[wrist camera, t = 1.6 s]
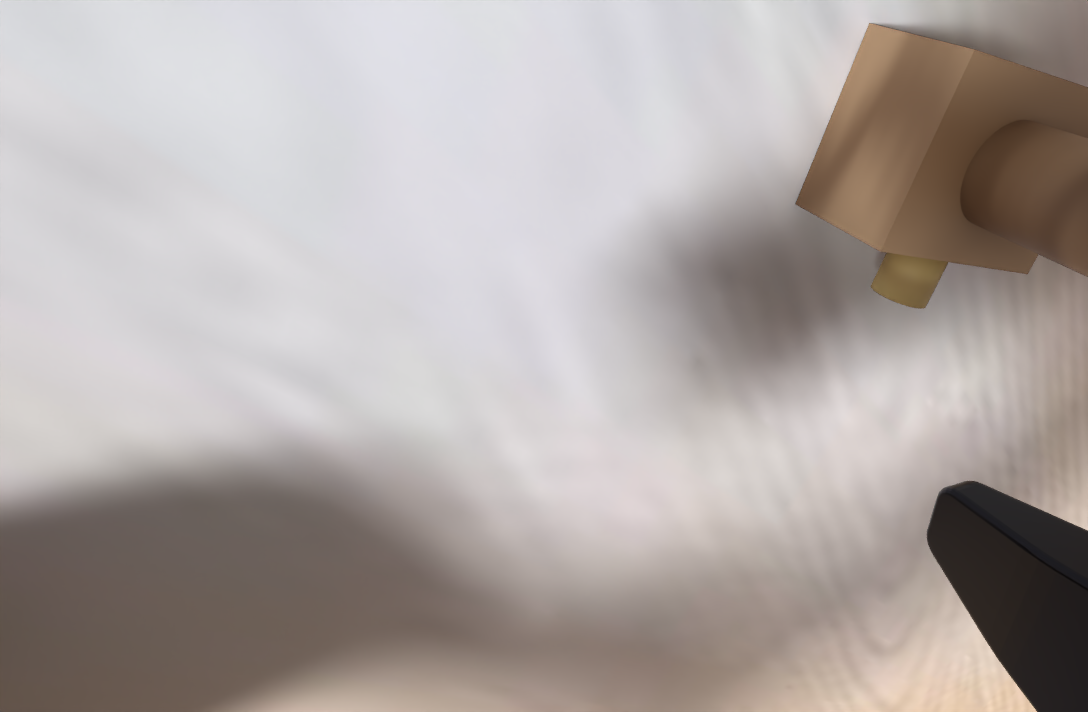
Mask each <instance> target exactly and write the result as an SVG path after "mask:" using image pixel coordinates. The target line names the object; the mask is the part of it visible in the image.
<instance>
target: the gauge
mask: <svg viewBox="0 0 1088 712" xmlns="http://www.w3.org/2000/svg"><path fill="white" fill-rule="evenodd" d="M796 205H798V206H800V207H801V208H803V209H805V210H807V211H809V212H810V213H812V214H814V215H816V216H818V217H819V218H821V219H823V220H825V221H826V222H828V223H830V224H832V225H834V226H835V227H837V228H839V229H841V230H843V231H844V232H846V233H848V234H850V235H852V236H853V237H855V238H857V239H859V240H860V241H862V242H864V243H866V244H868V245H869V246H871V247H873V248H875V249H877V250H878V251H880V252H886V255H885V257H884V259H883V261H882V264H881V266H880V268H879V270H878V272H877V274H876V276H875V278H874V281H873V283H872V285H871V288H872V289H873V290H874V291H875V292H877V293H878V294H880V295H882V296H883V297H885V298H887V299H890V300H892V301H894V302H897V303H900V304H902V305H906V306H909V307H913V308H920V309H921V308H925V307H926V305H927V303H928V301H929V299H930V297H931V295H932V294H933V292H934V290H935V288H936V286H937V284H938V282H939V280H940V278H941V276H942V274H943V272H944V270H945V268H946V266H947V264H948V262H952V263H958V264H965V265H971V266H978V267H984V268H991V269H998V270H1004V271H1011V272H1017V273H1024V274H1028V272H1029V271H1030V269H1031V267H1032V265H1033V263H1034V262H1035V260H1036V258H1037V256H1038V254H1039V255H1042V256H1044V257H1046V258H1048V259H1050V260H1052V261H1055V262H1057V263H1059V264H1061V265H1063V266H1065V267H1067V268H1070V269H1072V270H1074V271H1076V272H1078V273H1080V274H1083V275H1085V276H1087V277H1088V87H1085V86H1082V85H1079V84H1076V83H1073V82H1070V81H1067V80H1064V79H1061V78H1058V77H1055V76H1052V75H1049V74H1046V73H1043V72H1040V71H1037V70H1034V69H1031V68H1028V67H1025V66H1022V65H1019V64H1016V63H1013V62H1010V61H1007V60H1004V59H1001V58H998V57H995V56H992V55H989V54H987V53H984V52H981V51H978V50H975V49H971V48H967V47H963V46H959V45H955V44H951V43H947V42H943V41H939V40H935V39H931V38H927V37H923V36H919V35H915V34H911V33H907V32H903V31H899V30H895V29H891V28H887V27H883V26H879V25H875V24H871V23H869V26H868V28H867V31H866V33H865V36H864V38H863V40H862V43H861V45H860V48H859V50H858V53H857V55H856V58H855V60H854V62H853V65H852V67H851V70H850V72H849V75H848V77H847V79H846V82H845V84H844V87H843V89H842V92H841V94H840V97H839V99H838V101H837V104H836V106H835V109H834V111H833V114H832V116H831V119H830V121H829V123H828V126H827V128H826V131H825V133H824V136H823V138H822V140H821V143H820V145H819V148H818V150H817V153H816V155H815V158H814V160H813V162H812V165H811V167H810V170H809V172H808V175H807V177H806V180H805V182H804V184H803V187H802V189H801V192H800V194H799V197H798V199H797V201H796Z"/></svg>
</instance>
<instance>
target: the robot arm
mask: <svg viewBox="0 0 1088 712" xmlns="http://www.w3.org/2000/svg"><path fill="white" fill-rule="evenodd" d="M927 541H928V545H929V547H930V550H931V552H932V554H933V555H934V557H935V559H936V560H937V562H938V564H939V565H940V567H941V568H942V570H943V572H944V573H945V575H946V577H947V578H948V580H949V581H950V583H951V585H952V586H953V588H954V590H955V591H956V593H957V594H958V596H959V598H960V599H961V601H962V603H963V604H964V606H965V607H966V609H967V611H968V612H969V614H970V616H971V617H972V619H973V620H974V622H975V624H976V625H977V627H978V629H979V630H980V632H981V633H982V635H983V637H984V638H985V640H986V641H987V643H988V645H989V646H990V648H991V649H992V651H993V652H994V654H995V655H996V657H997V658H998V660H999V661H1000V662H1001V664H1002V665H1003V667H1004V668H1005V669H1006V671H1007V672H1008V674H1009V675H1010V676H1011V678H1012V679H1013V680H1014V682H1015V683H1016V684H1017V686H1018V687H1019V688H1020V690H1021V691H1022V692H1023V693H1024V695H1025V696H1026V697H1027V699H1028V700H1029V701H1030V703H1031V704H1032V705H1033V707H1034V708H1035V709H1036V711H1037V712H1088V531H1087V530H1085V529H1083V528H1081V527H1078V526H1076V525H1074V524H1072V523H1069V522H1067V521H1065V520H1062V519H1060V518H1058V517H1056V516H1053V515H1051V514H1049V513H1047V512H1044V511H1042V510H1040V509H1038V508H1035V507H1033V506H1031V505H1029V504H1026V503H1024V502H1022V501H1020V500H1017V499H1015V498H1013V497H1011V496H1008V495H1006V494H1004V493H1002V492H999V491H997V490H995V489H993V488H990V487H988V486H986V485H984V484H981V483H979V482H975V481H965V482H961V483H958V484H955V485H952V486H949V487H945V488H943V489H942V490H941V491H940V492H939V494H938V496H937V499H936V502H935V506H934V509H933V512H932V516H931V519H930V523H929V526H928V529H927Z"/></svg>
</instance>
